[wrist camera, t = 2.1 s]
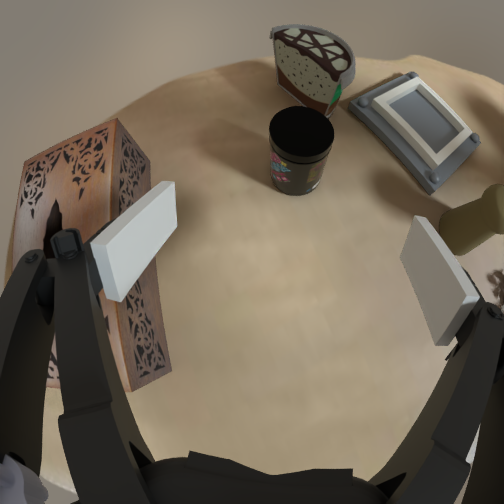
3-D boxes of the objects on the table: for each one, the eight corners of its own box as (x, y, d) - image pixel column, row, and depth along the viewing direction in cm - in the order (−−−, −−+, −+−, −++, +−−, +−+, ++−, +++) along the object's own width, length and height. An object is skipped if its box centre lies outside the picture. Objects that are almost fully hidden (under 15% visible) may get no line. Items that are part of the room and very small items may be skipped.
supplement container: (283, 147, 33) (285, 98, 24) (327, 166, 32) (342, 120, 23) (261, 185, 32) (257, 141, 23) (308, 206, 31) (321, 167, 22)
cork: (432, 218, 30) (482, 182, 19) (460, 204, 30) (509, 170, 19) (450, 263, 28) (508, 241, 18) (478, 246, 28) (532, 222, 18)
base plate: (476, 147, 31) (485, 137, 28) (429, 195, 30) (440, 186, 27) (408, 77, 35) (414, 65, 32) (348, 108, 34) (352, 94, 31)
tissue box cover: (66, 190, 34) (24, 161, 25) (150, 162, 34) (117, 117, 24) (75, 372, 29) (23, 383, 19) (172, 370, 28) (131, 392, 19)
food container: (361, 112, 33) (380, 62, 24) (330, 131, 33) (345, 76, 23) (302, 65, 36) (305, 14, 26) (270, 79, 35) (268, 26, 26)
